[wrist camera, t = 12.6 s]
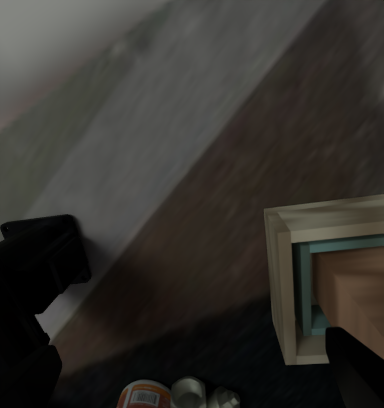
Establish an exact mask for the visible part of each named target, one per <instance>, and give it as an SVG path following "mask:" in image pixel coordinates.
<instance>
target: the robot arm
mask: <svg viewBox="0 0 384 408" xmlns="http://www.w3.org/2000/svg"><path fill="white" fill-rule="evenodd" d="M65 219H67V220H68V222H66V221H65ZM7 227H8V229H9V230H8V229H7ZM0 229H1V232H2V234H3V237H4V240H3V241H1V242H0V408H47V407H48V405H49V402H50V399H51V397H52V394H53V391H54V389H55V386H56V383H57V381H58V378H59V375H60V373H61V369H62V361H61V359H60V356H59V354H58V351H57V349H56V347H55V346H54V345H48V344H49V341H50V338H49V336H48V334H47V333H45V332H44V331H43V329H42V327H41V326H40V324H39V322H38V321H37V319H36V317H35V315H36V314H42V313H43V312H44V311H45V310H46V309H47V308H48V306H49V305H50V304H51V303H52V302H53V301H54V300H55V298H56V297H57V296H58V295H59V294H62V293H63V292H64V291H65V290H66V289H67V288H68V287H69V285H70V284H78V283H86V282H88V281H89V280H90V279H91V273H90V270H89V266H88V261H87V258H86V255H85V251H84V248H83V245H82V242H81V239H80V238H79V236H78V232H77V229H76V226H75V223H74V220H73V218H72V217H71V216H70V215H68V214H65V215H57V216H49V217H42V218H34V219H27V220H19V221H12V222H6V223H4V224H2V225H1V227H0ZM84 276H86V277H87V278H85V277H84ZM325 349H326V354H327V357H328V360H329V363H330V365H331V368H332V371H333V374H334V376H335V379H336V382H337V384H338V387H339V390H340V393H341V395H342V398H343V401H344V403H345V406H346V408H384V359H383V358H381V357H380V356H379V355H377V354H376V353H375V352H373V351H372V350H371V349H369V348H368V347H367V346H365V345H364V344H363V343H362V342H360V341H359V340H358V339H356V338H355V337H354V336H352V335H351V334H350V333H348V332H347V331H346V330H344V329H343V328H342V327H339V326H336V327H327V328H326V330H325Z"/></svg>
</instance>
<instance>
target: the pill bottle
mask: <svg viewBox="0 0 384 408" xmlns="http://www.w3.org/2000/svg"><path fill="white" fill-rule="evenodd" d="M170 402H171V390H170V389H169V388H168V387H166V386H165V385H163V384H161V383H159V382H156V381H153V380H138V381H135V382H132V383H131V384H129V385H128V386H127V387H126V388H125V389H124V390H123V392H122V394H121V396H120V399H119V402H118V405H117V408H171V407H170Z"/></svg>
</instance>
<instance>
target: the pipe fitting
mask: <svg viewBox="0 0 384 408" xmlns="http://www.w3.org/2000/svg"><path fill="white" fill-rule="evenodd" d="M239 403H240V397H239V395H238V394H237V393H236V392H235V393H234V392H233V391H232V390H229V391H228V390H227V389H226V388H224V387H223V386H219V387H217V388H216V389H215V390H214V391H212V392H211V393H210V394H208V395H207V396H206V391H205V383H203V382H202V381H201V380H199V379H197V378H195V377H193V376H185V377H183V378H181V379H179V380H178V381H176V382H175V383H174V384H172V388H171V402H170V407H171V408H240V404H239Z"/></svg>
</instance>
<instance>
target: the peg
mask: <svg viewBox="0 0 384 408" xmlns="http://www.w3.org/2000/svg"><path fill="white" fill-rule="evenodd" d="M312 270H313V295H314V297H315V299H316V300H317V302H318V304H319V306H320V307H321V309H322V311H323V313H324V314H325V316H326V318H327V320H328V321H329V323H330V325H331V327H336V326H339V327H342V328H343V329H344V330H346V331H347V332H348V333H350V334H351V335H352V336H354V337H355V338H356V339H358V340H359V341H360V342H362V343H363V344H364V345H365V346H367V347H368V348H369V349H371V350H372V351H373V352H375V353H376V354H377V355H379V356H380V357H381V358H383V359H384V247H383V246H376V247H366V248H356V249H346V250H336V251H326V252H316V253H312Z"/></svg>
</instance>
